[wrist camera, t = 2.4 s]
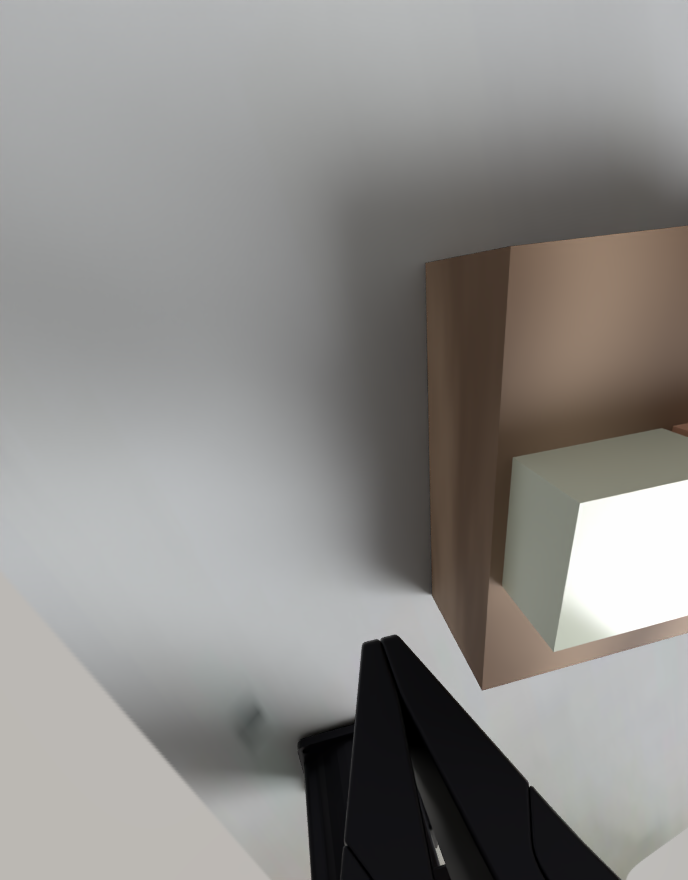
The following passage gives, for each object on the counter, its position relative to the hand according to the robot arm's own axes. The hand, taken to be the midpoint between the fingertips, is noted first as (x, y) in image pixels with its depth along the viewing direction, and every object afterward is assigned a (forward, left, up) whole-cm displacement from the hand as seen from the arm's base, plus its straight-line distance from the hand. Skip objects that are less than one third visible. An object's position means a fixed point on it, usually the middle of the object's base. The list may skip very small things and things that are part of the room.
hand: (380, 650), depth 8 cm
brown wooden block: (+10, 0, -8) cm, 13 cm away
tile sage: (+8, 0, -3) cm, 8 cm away
